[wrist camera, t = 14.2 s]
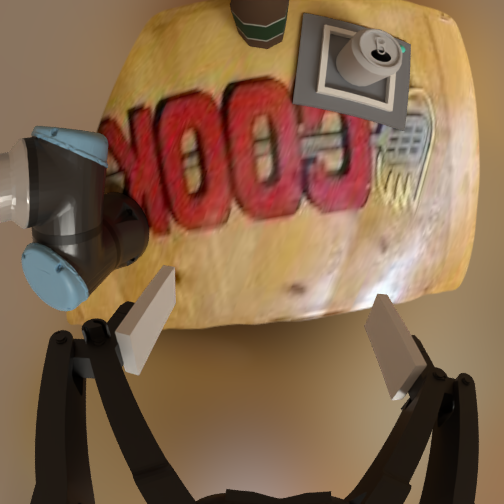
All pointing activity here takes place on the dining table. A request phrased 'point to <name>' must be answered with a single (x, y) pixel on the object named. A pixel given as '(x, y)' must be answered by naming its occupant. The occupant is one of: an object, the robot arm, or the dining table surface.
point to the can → (369, 57)
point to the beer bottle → (260, 21)
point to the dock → (336, 87)
